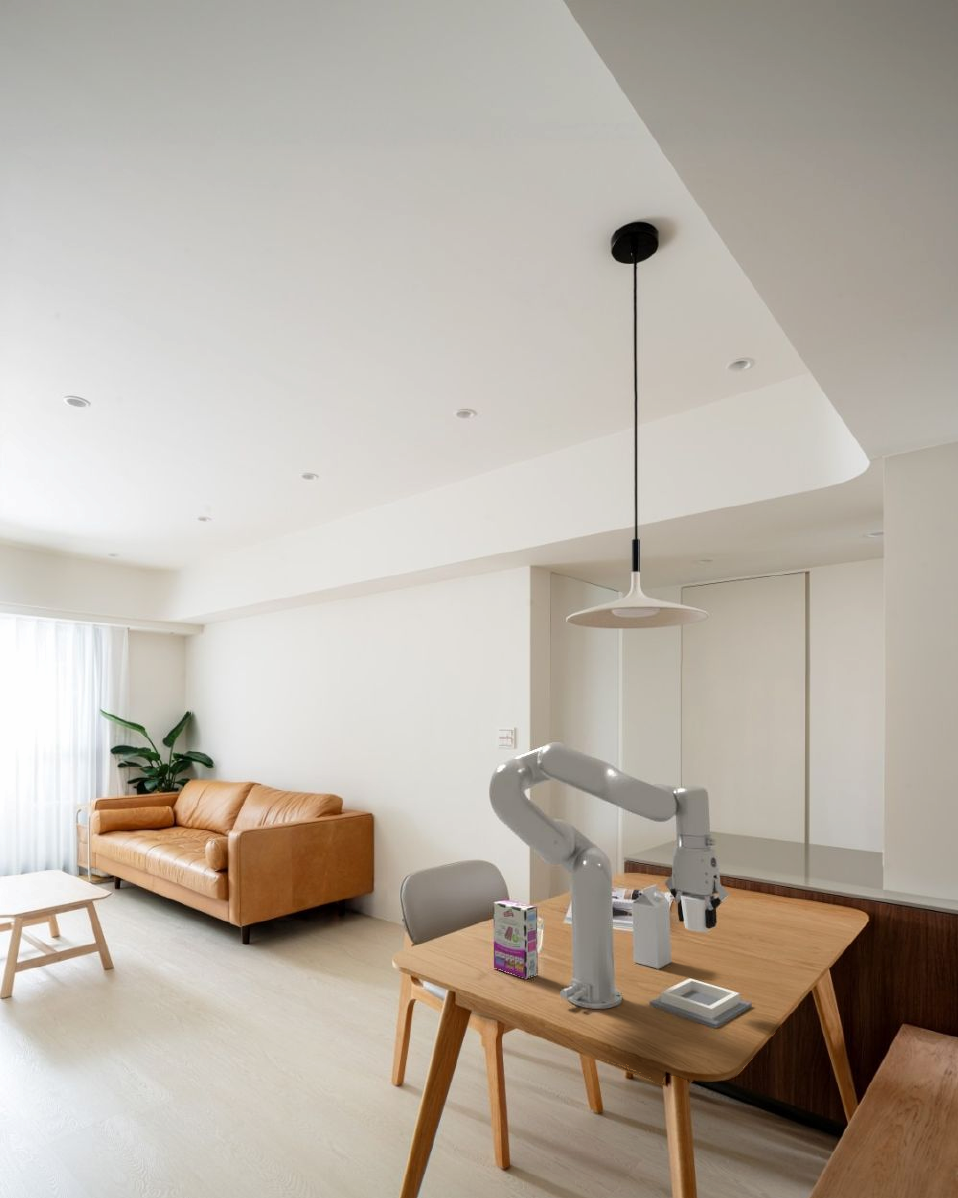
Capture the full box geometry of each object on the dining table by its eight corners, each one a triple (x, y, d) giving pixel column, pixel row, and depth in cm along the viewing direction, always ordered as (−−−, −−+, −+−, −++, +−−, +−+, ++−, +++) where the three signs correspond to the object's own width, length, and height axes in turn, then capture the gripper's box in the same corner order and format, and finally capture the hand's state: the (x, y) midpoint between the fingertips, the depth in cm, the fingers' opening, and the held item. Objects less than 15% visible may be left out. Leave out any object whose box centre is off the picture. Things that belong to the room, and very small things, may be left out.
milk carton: (633, 963, 187) (631, 887, 190) (647, 956, 193) (645, 882, 195) (658, 969, 183) (655, 891, 186) (671, 962, 188) (668, 886, 191)
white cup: (689, 922, 167) (687, 890, 169) (718, 927, 163) (716, 895, 164) (677, 929, 162) (675, 896, 163) (706, 934, 158) (704, 901, 159)
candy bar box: (539, 975, 179) (538, 906, 181) (526, 980, 175) (525, 910, 178) (505, 964, 187) (505, 898, 189) (492, 969, 183) (492, 901, 186)
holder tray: (715, 1028, 149) (715, 1014, 149) (649, 1005, 161) (649, 992, 161) (751, 1006, 160) (751, 993, 160) (687, 986, 171) (687, 974, 172)
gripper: (736, 844, 162) (741, 928, 159) (669, 835, 174) (672, 913, 172) (720, 849, 157) (724, 936, 154) (652, 838, 169) (655, 919, 167)
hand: (697, 923), depth 163 cm, fingers closed on white cup, 6 cm apart
